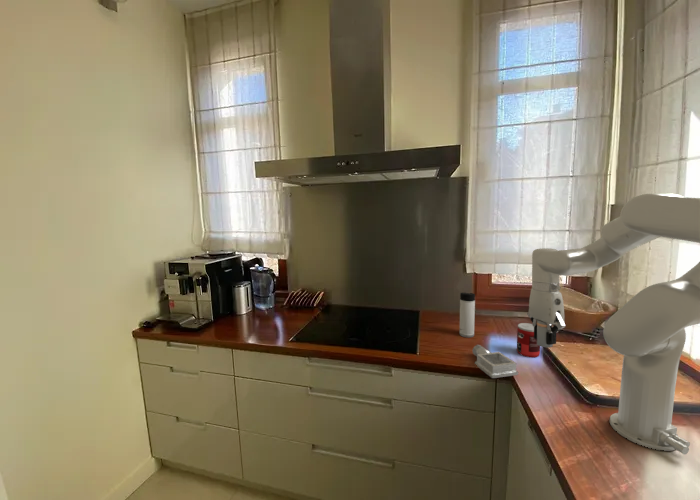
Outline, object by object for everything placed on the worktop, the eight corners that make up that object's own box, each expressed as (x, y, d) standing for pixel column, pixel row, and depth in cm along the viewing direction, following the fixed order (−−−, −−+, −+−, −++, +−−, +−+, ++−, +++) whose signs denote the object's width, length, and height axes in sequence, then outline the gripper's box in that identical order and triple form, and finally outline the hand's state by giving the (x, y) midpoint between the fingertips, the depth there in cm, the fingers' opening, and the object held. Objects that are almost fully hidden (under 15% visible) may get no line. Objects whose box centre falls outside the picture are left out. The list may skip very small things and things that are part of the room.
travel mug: (458, 336, 139) (459, 293, 136) (460, 331, 144) (460, 290, 142) (473, 338, 136) (474, 294, 133) (474, 333, 142) (475, 291, 139)
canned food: (518, 347, 127) (519, 321, 125) (541, 352, 122) (542, 325, 120) (514, 354, 121) (515, 327, 119) (538, 359, 116) (539, 331, 114)
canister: (556, 346, 100) (556, 322, 99) (544, 348, 99) (544, 323, 98) (545, 341, 104) (545, 318, 104) (533, 342, 103) (533, 319, 103)
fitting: (518, 374, 106) (518, 362, 105) (492, 378, 104) (492, 366, 103) (488, 354, 121) (489, 343, 121) (465, 356, 119) (466, 346, 119)
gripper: (578, 290, 92) (577, 349, 94) (535, 281, 109) (534, 331, 110) (557, 292, 91) (556, 352, 92) (516, 282, 107) (516, 333, 109)
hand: (544, 340), depth 101 cm, fingers closed on canister, 4 cm apart
